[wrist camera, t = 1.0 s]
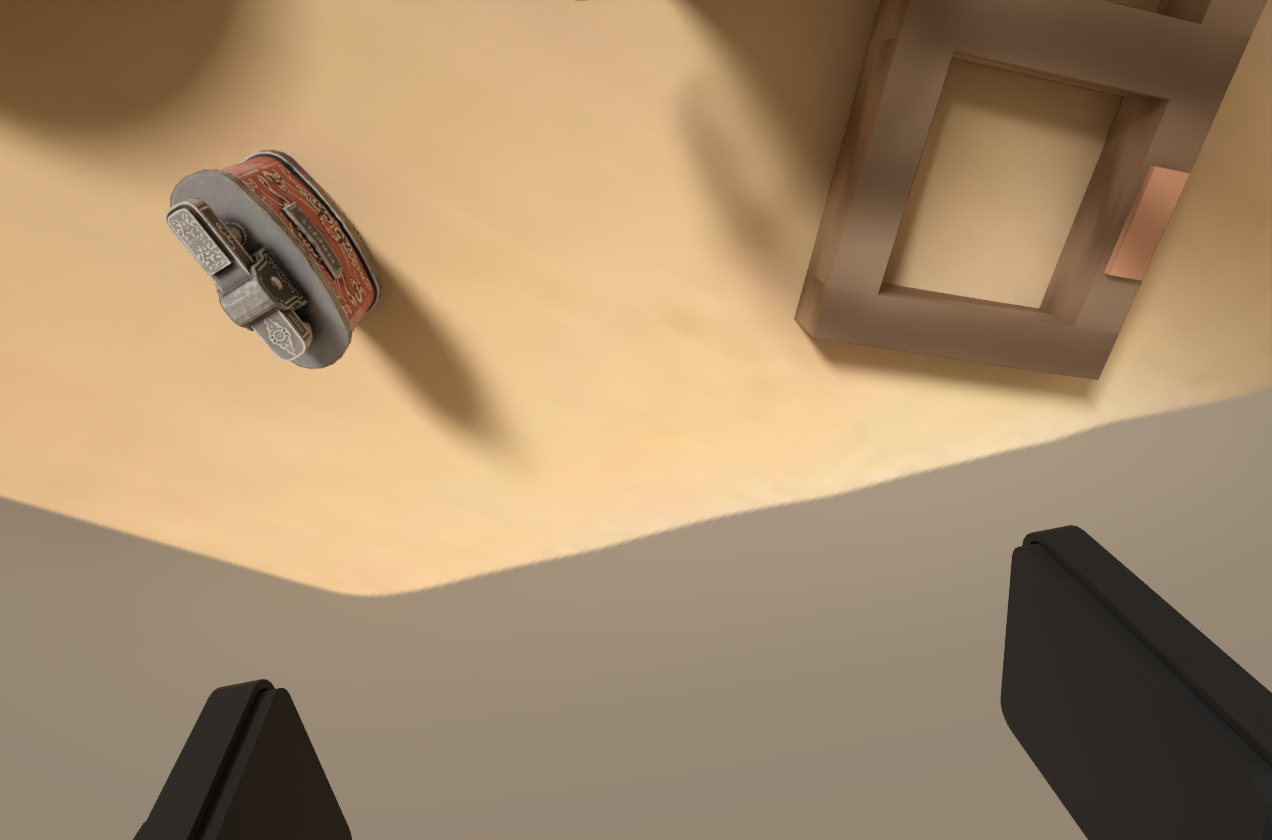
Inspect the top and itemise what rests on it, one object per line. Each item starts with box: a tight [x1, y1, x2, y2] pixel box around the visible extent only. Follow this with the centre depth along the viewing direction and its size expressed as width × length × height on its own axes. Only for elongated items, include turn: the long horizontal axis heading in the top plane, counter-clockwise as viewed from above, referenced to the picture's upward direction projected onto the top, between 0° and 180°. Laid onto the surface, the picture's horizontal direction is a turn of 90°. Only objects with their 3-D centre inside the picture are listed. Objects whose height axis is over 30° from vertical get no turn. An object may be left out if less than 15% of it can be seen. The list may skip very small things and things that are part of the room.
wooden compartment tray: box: [795, 0, 1267, 380], centre depth 34 cm, size 29×16×3 cm, turn 170°
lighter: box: [164, 150, 382, 369], centre depth 31 cm, size 8×3×10 cm, turn 29°
